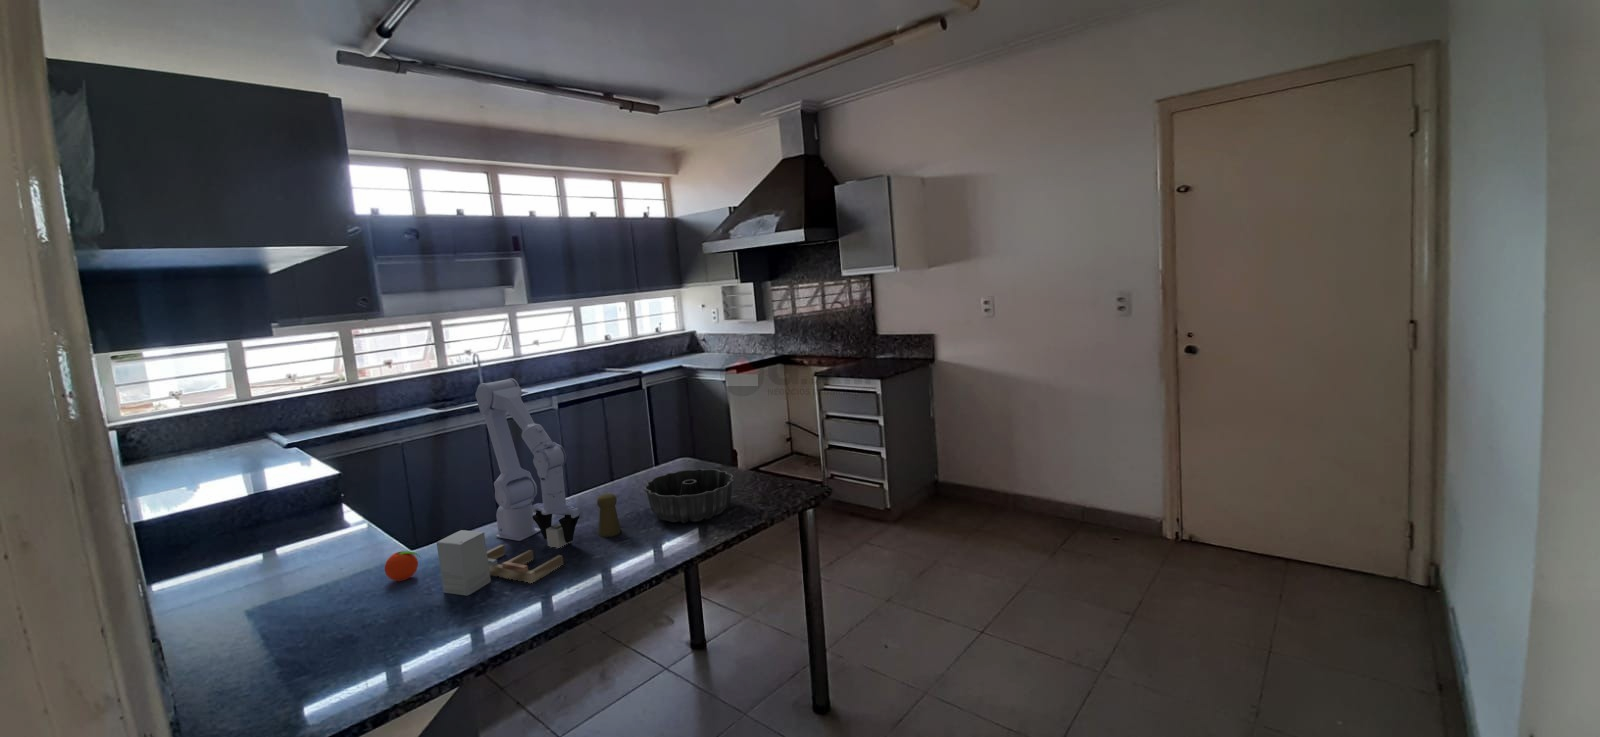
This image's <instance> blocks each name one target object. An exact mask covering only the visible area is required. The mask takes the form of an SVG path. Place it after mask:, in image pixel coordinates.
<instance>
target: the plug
mask: <svg viewBox="0 0 1600 737" xmlns="http://www.w3.org/2000/svg"><path fill="white" fill-rule="evenodd" d="M546 534H547V539H546V542H547V547H548V546H550V547H549V548H552V547H556V548H555V549H558V548H560V547H561V548H563V547H565V546H567V545H568V544H567V543H566V542H565V539H564V533H563V529H562V526H561V524H560V523H559V522H558V523H557V522H556V523H555V524H552V525H551V527H549V528H547V529H546ZM566 544H567V545H566ZM569 544H571V542H569ZM564 545H565V546H564ZM562 546H563V547H562ZM561 548H560V549H561Z"/></svg>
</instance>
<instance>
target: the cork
mask: <svg viewBox="0 0 1600 737" xmlns="http://www.w3.org/2000/svg"><path fill="white" fill-rule="evenodd" d="M596 503H597V506H598V508H599V518H598V521H599V522H598V536H599V535H600V537H601V536H603V537H602V538H611V537H615V536H617V535H619V534H621V531H622V530H621V525H620V522H619V517H618V512H617V508H616V504H617V497H616V495H615V494H614V493H605V494H601V495H599V496H598V497H597V499H596ZM614 535H615V536H614ZM608 536H609V537H608ZM610 536H611V537H610Z"/></svg>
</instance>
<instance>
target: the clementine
mask: <svg viewBox="0 0 1600 737" xmlns="http://www.w3.org/2000/svg"><path fill="white" fill-rule="evenodd" d="M415 555H416V556H417V557H419V558H420V559H422V557H421V556H420V555H419V554H418V553H416V552H415V551H410V550H409V551H408V550H406V551H405V550H403V551H402V550H401V551H398V552H395V553H394V554H391V556H389V557H388V559H387V560H386V561H385V564H384V572H385V575H386V576H387V577H388V579H390V580H392V581H395V582H402V581H406V580H408V579H410V578H412V577H413V576H414V574H415V573H416V572H417V569H418V566H419V561H418V559H417V557H416V556H415Z"/></svg>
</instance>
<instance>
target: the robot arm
mask: <svg viewBox="0 0 1600 737" xmlns="http://www.w3.org/2000/svg"><path fill="white" fill-rule="evenodd" d="M522 394H523V393H522V388H521V386H520V385H519V382H518V381H517V380H516V379H515V378H510V377H509V378H507V379H503V380H496V381H491V382H484V383H483V382H482V383H480V384H479V385H478V386H477V388H476V391H475V399H476V401H477V405H478V409H479V412H480V414H481V415H483V417H484V421H485V423H486V427H487V430H488V435H489V437H490V442H491V443H492V444H491V445H492V448H493V451H494V454H495V457H496V458H495V459H496V461H497V465H498V467H499V468H498V469H499V471H500V474H499V476H498V477H497V478H496V480H495V481H494V482H493V486H494V487H493V488H494V499H495V501H496V503H497V505H499V506H498V508H497V510H496V512H495V513H496V515H495V516H496V524H497V533H498V534H496V536H495V537H496V538H501V539H506V540H511V541H519V542H522V541H524V540H526V539H528V538H530V537H531V536H533V535H535V534H538V533H540V532H541V535H542V537H543V539H544V540H547V534H546V529H547V528H549V527H551V526H552V520H553V515H557V516H558V515H559V516H563V517H562V518H560V519H558V523H559V524H561V526H562V529H563V533H564V539H565V542H566V543H569V542H570V543H571V542H572V541H574V535H575V530H576V527H577V523H578V521H579V519H580V517H581V516H580V512H579V508H576V507H573V506H572V505H569V504H568V503H567V501H566V500H567V499H566V492H565V491H566V489H565V481H564V480H565V479H564V472H563V465H565V464H566V461H567V453H566V451H565V448H564V447H563V446H562V445H561V444H558V443H556V442H555V441H553V440H552V439H551V437H550V436H549V434H548V433H547V432H546V430H545V429H544V427H543V426H542V425H541V424H539V423H535V421H534V420H533V418H532V416H531V414H530V412H529V411H528V409H527V407H526V405H525V403H524V402H523V400H522ZM507 413H508V414H509V416H510V417H511V418H512V419H513V421H514V422H515V423H516V424H517V425H518V427H519V428H520V429H521V430H522V431H521V436H520V437H521V438H522V440H523V441H524V443H525V444H526V446H527V447H528V449H529V450H530V452H531V453H532V455H533V459H532V463H533V465H534V467H535V469H536V471H537V476H538V478H539V480H540V489H541V497H542V503H540V502H537V503H534V504H533V502H534V501H535V500H534V498H535V497H536V496H537V494H538V486H537V483H536V481H535V480H534V479H533V477H532V474H531V472H530V471H529V470H526V469H524V468H522V467H521V465H520V464H521V463H520V460H519V458H518V454H517V451H516V447H515V444H514V441H513V437H512V433H511V429H510V427H509V423H508V420H507V417H506V414H507ZM535 524H536V525H537V526H538V527H535ZM570 543H569V544H570Z"/></svg>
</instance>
